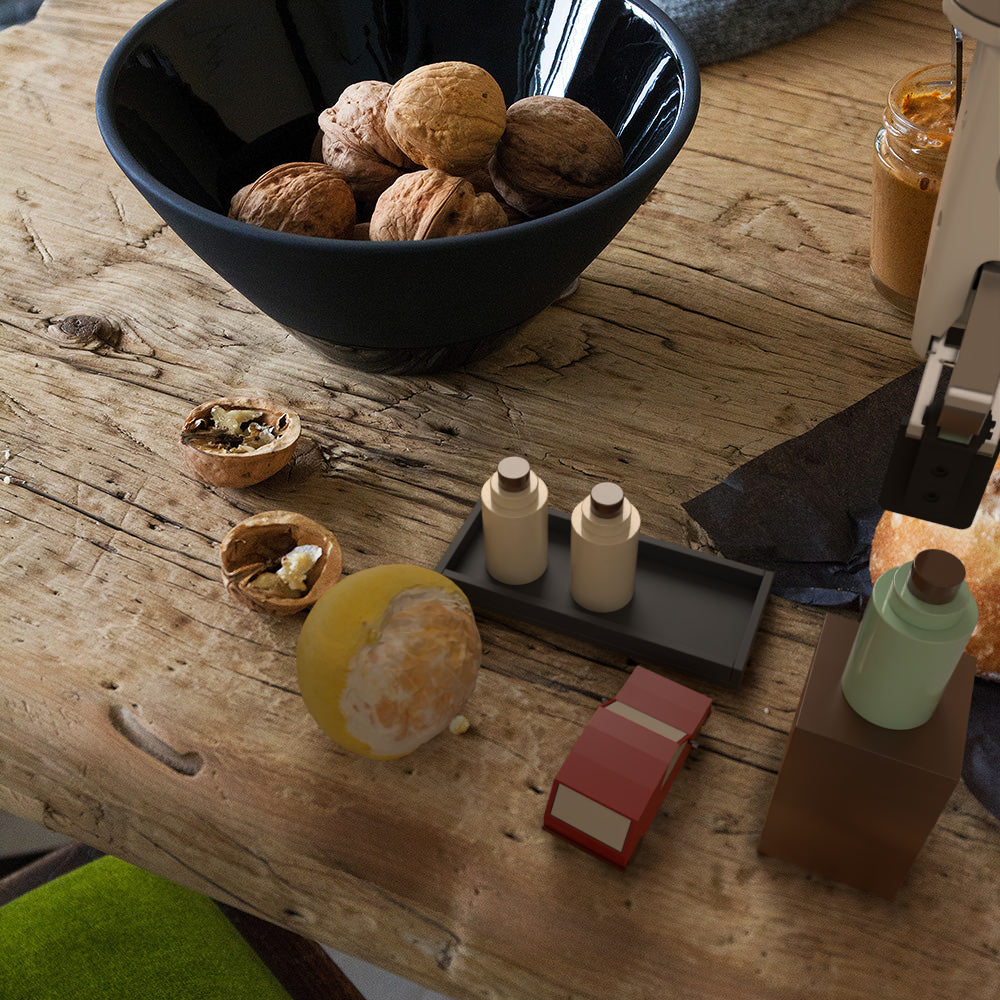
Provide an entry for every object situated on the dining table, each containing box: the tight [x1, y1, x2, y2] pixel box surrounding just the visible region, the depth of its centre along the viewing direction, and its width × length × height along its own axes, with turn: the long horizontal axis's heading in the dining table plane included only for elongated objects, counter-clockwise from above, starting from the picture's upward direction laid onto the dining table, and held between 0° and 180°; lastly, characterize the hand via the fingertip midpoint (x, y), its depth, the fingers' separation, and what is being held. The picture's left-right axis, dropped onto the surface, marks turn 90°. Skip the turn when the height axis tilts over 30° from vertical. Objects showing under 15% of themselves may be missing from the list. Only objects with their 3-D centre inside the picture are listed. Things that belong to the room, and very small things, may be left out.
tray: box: [433, 496, 776, 692], centre depth 66 cm, size 20×8×2 cm, turn 66°
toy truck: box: [541, 665, 716, 875], centre depth 56 cm, size 6×12×5 cm, turn 149°
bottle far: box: [480, 456, 549, 585], centre depth 65 cm, size 4×4×9 cm
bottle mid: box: [569, 481, 642, 613], centre depth 64 cm, size 4×4×9 cm
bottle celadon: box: [842, 548, 980, 730], centre depth 44 cm, size 4×4×9 cm
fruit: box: [295, 563, 483, 761], centre depth 58 cm, size 10×11×10 cm
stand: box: [755, 612, 978, 902], centre depth 51 cm, size 7×7×12 cm
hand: (944, 431), depth 40 cm, fingers open, 9 cm apart
